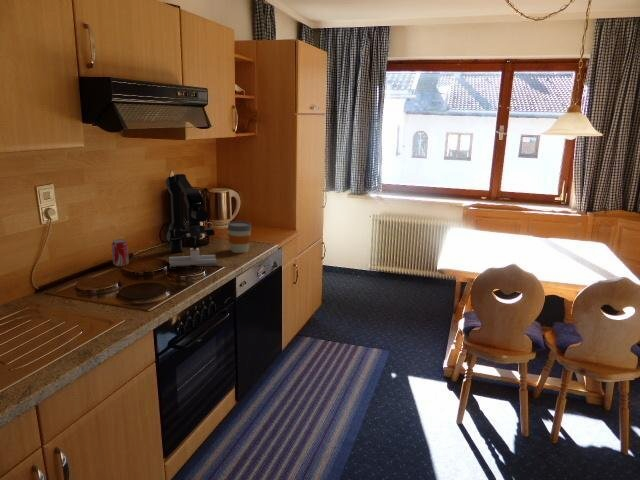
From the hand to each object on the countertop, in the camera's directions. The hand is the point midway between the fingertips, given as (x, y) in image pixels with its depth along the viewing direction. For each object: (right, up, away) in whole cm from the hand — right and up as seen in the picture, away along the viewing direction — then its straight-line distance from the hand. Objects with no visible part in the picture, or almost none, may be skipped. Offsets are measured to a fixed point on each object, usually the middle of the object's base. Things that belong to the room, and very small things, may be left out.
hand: (194, 249), depth 229 cm
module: (0, -6, +1) cm, 6 cm away
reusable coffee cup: (+17, -1, +28) cm, 33 cm away
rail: (-1, -7, +2) cm, 7 cm away
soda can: (-34, -8, -4) cm, 35 cm away
